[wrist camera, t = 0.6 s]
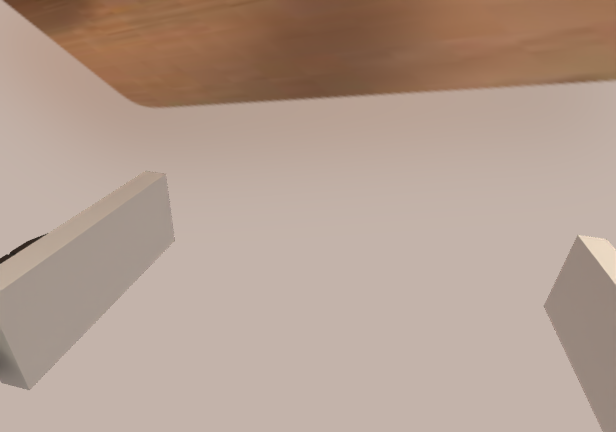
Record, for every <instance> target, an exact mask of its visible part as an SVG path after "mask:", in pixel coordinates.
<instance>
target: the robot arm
mask: <svg viewBox="0 0 616 432" xmlns="http://www.w3.org/2000/svg"><path fill="white" fill-rule="evenodd" d="M174 241H175V238H174V231H173V224H172V216H171V209H170V201H169V194H168V187H167V179H166V174H164V173H157V172H150V171H145V172H143V173H142V174H140V175H138V176H137V177H135V178H134V179H132V180H131V181H129V182H128V183H126V184H124V185H123V186H121V187H120V188H118V189H117V190H115V191H113V192H112V193H111V194H109V195H107V196H106V197H104V198H103V199H101V200H99V201H98V202H97V203H95V204H93V205H92V206H90V207H89V208H87V209H86V210H84V211H82V212H81V213H79V214H78V215H76V216H75V217H73V218H71V219H70V220H68V221H67V222H65V223H64V224H62V225H61V226H59V227H57V228H56V229H54V230H53V231H51V232H50V233H47V234H45V235H43V236H40V237H37V238H35V239H32V240H30V241H27V242H26V243H24V244H23V245H21V246H19V247H18V248H16V249H14V250H13V251H11V252H10V254H9V255H5V256H3V257H2V258H0V381H1V382H2V383H4V384H8V385H12V386H16V387H20V388H23V389H27V390H30V389H31V388H32V387H33V386H34V385H35V384H36V383H37V382H38V381H39V380H40V379H41V378H42V377H43V376H44V375H45V373H47V371H48V370H50V369H51V368H52V366H53V365H54V364H55V363H56V362H57V361H58V360H59V359H60V358H61V357H62V356H63V355H64V354H65V353H66V352H67V351H68V350H69V349H70V348H71V347H72V346H73V345H74V344H75V343H76V342H77V341H78V340H79V339H80V338H81V337H82V336H83V334H84V333H86V332H87V330H88V329H89V328H90V327H91V326H92V325H93V324H94V323H95V322H96V321H97V320H98V319H99V318H100V317H101V316H102V315H103V314H104V313H105V312H106V311H107V310H108V309H109V308H110V307H111V306H112V305H113V304H114V303H115V302H116V301H117V300H118V298H120V296H121V295H122V294H123V293H124V292H125V291H126V290H127V289H128V288H129V287H130V286H131V285H132V284H133V283H134V282H135V281H136V280H137V279H138V278H139V277H140V276H141V275H142V274H143V273H144V272H145V271H146V270H147V269H148V268H149V267H150V265H152V263H153V262H154V261H155V260H156V259H157V258H158V257H159V256H160V255H161V254H162V253H163V252H164V251H165V250H166V249H167V248H168V247H169V246H170V245H171V244H172V243H173V242H174ZM544 308H545V310H546V312H547V314H548V316H549V318H550V320H551V322H552V325H553V327H554V329H555V331H556V333H557V335H558V337H559V339H560V342H561V344H562V346H563V348H564V350H565V352H566V354H567V356H568V358H569V361H570V363H571V365H572V367H573V369H574V371H575V373H576V375H577V378H578V380H579V382H580V384H581V386H582V388H583V391H584V393H585V395H586V397H587V399H588V401H589V403H590V405H591V408H592V410H593V412H594V414H595V416H596V418H597V420H598V422H599V424H600V427H601V429H602V431H603V432H616V250H615V248H614V247H613V246H612V245H611V244H610V243H609V242H608V240H607V239H601V238H594V237H588V236H581V235H577V238H576V240H575V242H574V244H573V246H572V248H571V250H570V253H569V254H568V257H567V258H566V261H565V263H564V265H563V267H562V269H561V271H560V273H559V275H558V277H557V279H556V282H555V284H554V286H553V288H552V290H551V292H550V294H549V296H548V298H547V301H546V303H545V305H544Z"/></svg>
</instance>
